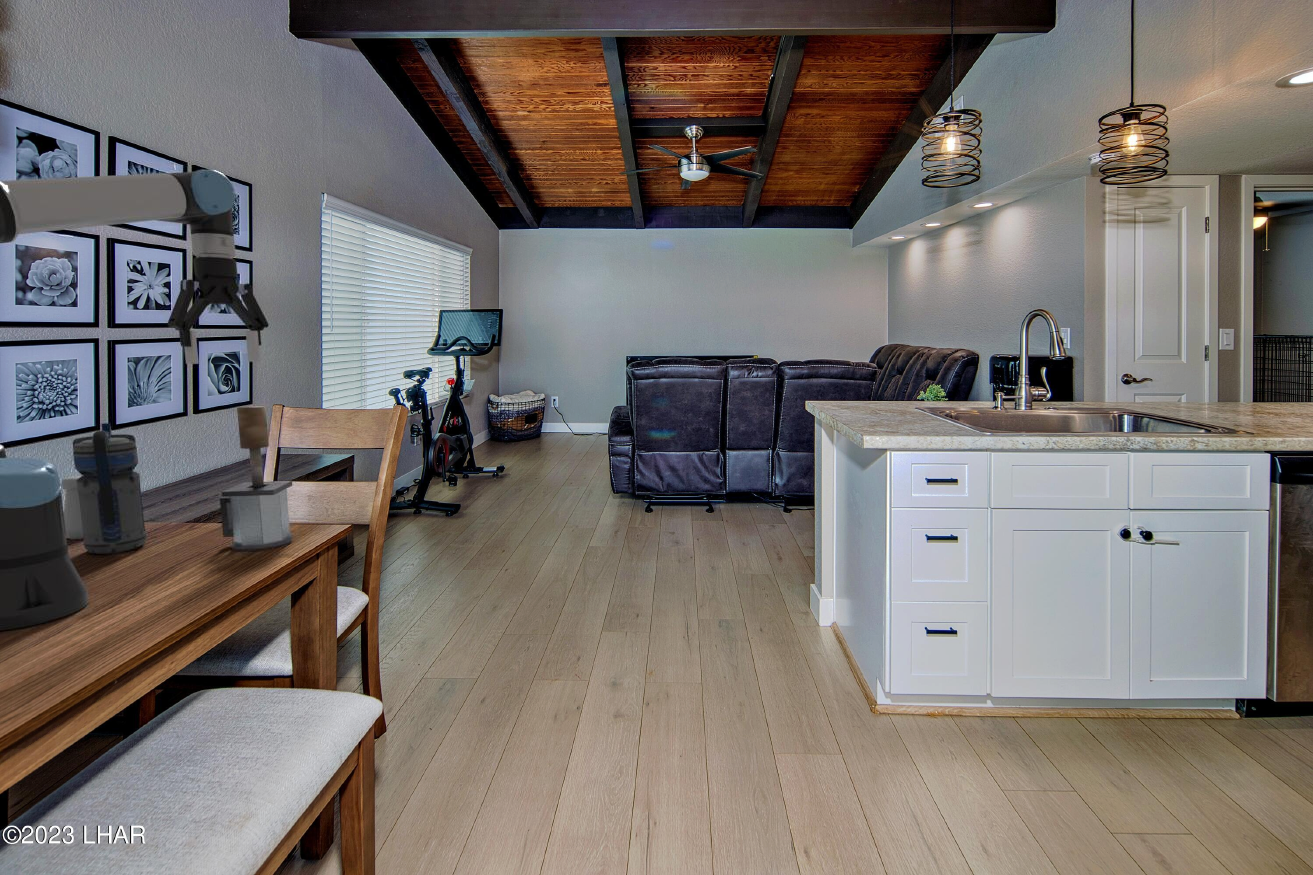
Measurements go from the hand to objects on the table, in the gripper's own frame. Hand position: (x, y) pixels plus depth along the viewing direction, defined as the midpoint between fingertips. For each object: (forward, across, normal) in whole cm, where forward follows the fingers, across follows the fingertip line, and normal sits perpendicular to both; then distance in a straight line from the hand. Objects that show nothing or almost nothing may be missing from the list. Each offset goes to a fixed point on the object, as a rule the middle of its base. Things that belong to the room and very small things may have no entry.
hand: (224, 362), depth 152 cm
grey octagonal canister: (+37, -3, -11) cm, 38 cm away
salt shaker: (+37, -14, +32) cm, 50 cm away
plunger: (+25, -3, -11) cm, 27 cm away
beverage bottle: (+37, -17, +14) cm, 43 cm away
